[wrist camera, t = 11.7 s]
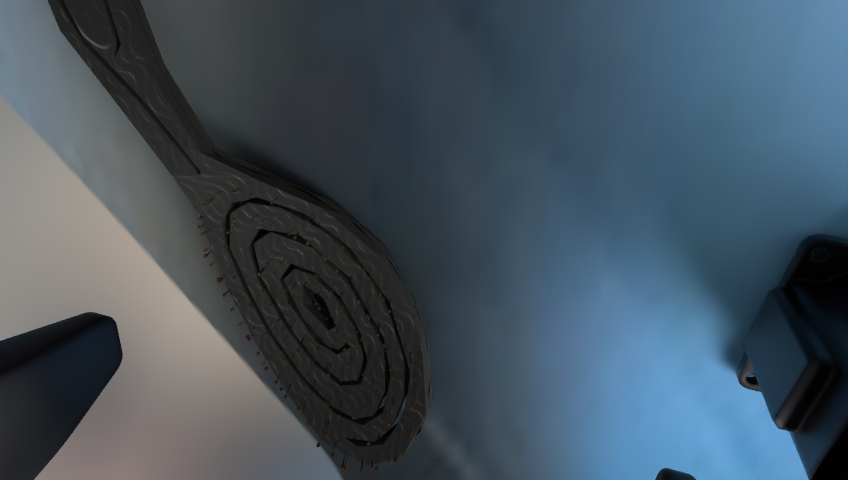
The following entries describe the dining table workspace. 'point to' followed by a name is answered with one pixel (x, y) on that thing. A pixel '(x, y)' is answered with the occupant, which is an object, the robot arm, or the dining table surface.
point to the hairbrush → (277, 254)
